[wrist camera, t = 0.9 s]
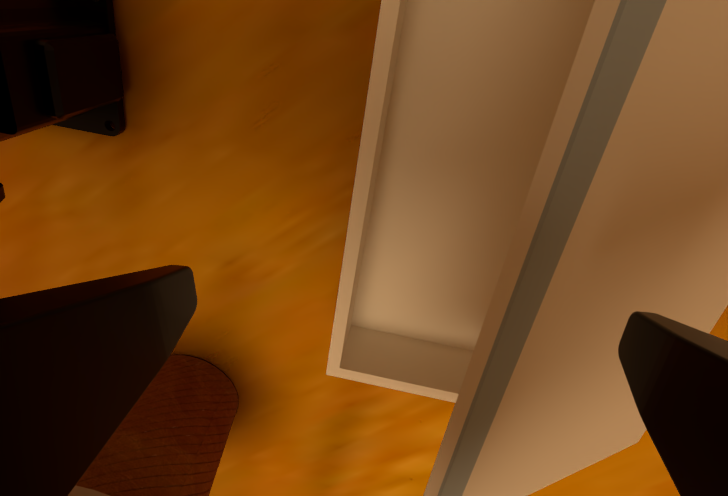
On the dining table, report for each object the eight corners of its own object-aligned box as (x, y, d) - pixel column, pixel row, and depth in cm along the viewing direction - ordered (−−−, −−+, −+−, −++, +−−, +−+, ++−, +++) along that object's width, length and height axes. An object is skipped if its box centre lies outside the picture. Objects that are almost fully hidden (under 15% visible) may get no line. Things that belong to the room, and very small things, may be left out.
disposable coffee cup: (289, 389, 29) (206, 604, 19) (223, 460, 34) (126, 667, 23) (155, 306, 28) (-16, 493, 17) (104, 392, 32) (-57, 583, 22)
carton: (341, 324, 26) (326, 374, 23) (421, -186, 16) (416, -238, 12) (589, 377, 26) (613, 437, 22) (851, -121, 15) (976, -158, 12)
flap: (410, 533, 16) (419, 551, 16) (719, -358, 6) (771, -382, 6) (628, 433, 22) (639, 444, 21) (978, -123, 12) (1016, -125, 11)
